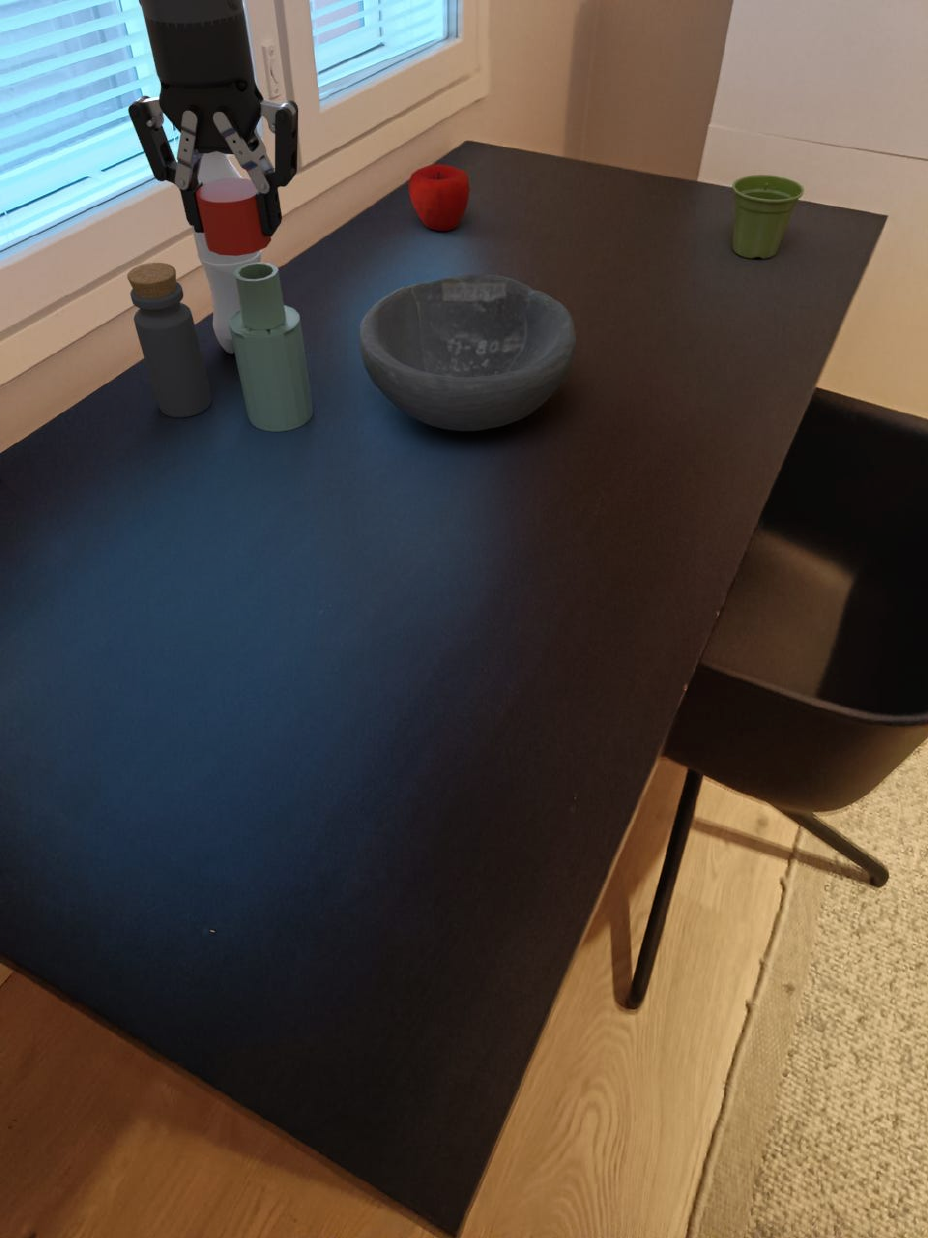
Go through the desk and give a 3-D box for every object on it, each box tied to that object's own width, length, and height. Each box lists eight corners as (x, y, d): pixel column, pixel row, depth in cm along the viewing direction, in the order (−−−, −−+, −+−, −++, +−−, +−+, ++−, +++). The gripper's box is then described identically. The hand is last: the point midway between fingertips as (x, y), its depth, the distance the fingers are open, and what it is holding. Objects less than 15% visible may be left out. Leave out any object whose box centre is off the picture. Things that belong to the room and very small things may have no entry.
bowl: (322, 403, 99) (310, 319, 92) (464, 332, 111) (464, 252, 103) (469, 492, 88) (469, 403, 81) (612, 403, 99) (623, 318, 92)
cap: (194, 244, 80) (182, 192, 77) (241, 224, 83) (232, 173, 80) (235, 261, 77) (225, 207, 74) (283, 239, 80) (275, 187, 77)
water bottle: (207, 355, 107) (153, 127, 89) (236, 328, 112) (191, 106, 94) (261, 365, 105) (217, 134, 88) (288, 336, 110) (252, 112, 92)
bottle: (186, 423, 97) (151, 290, 86) (147, 408, 99) (108, 276, 88) (223, 398, 100) (193, 267, 90) (185, 384, 103) (151, 254, 92)
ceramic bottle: (235, 417, 98) (204, 274, 86) (281, 390, 102) (257, 249, 90) (280, 439, 95) (253, 294, 83) (326, 410, 99) (307, 268, 87)
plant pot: (706, 250, 127) (718, 186, 121) (745, 231, 131) (759, 168, 125) (762, 271, 122) (777, 205, 116) (801, 251, 126) (818, 187, 120)
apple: (406, 216, 136) (403, 161, 130) (463, 212, 137) (463, 157, 131) (415, 240, 130) (412, 184, 124) (474, 235, 131) (474, 179, 125)
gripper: (299, -4, 69) (326, 218, 81) (124, -8, 71) (175, 210, 83) (269, 20, 64) (303, 253, 76) (81, 15, 66) (143, 244, 78)
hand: (236, 230), depth 80 cm, fingers closed on cap, 5 cm apart
